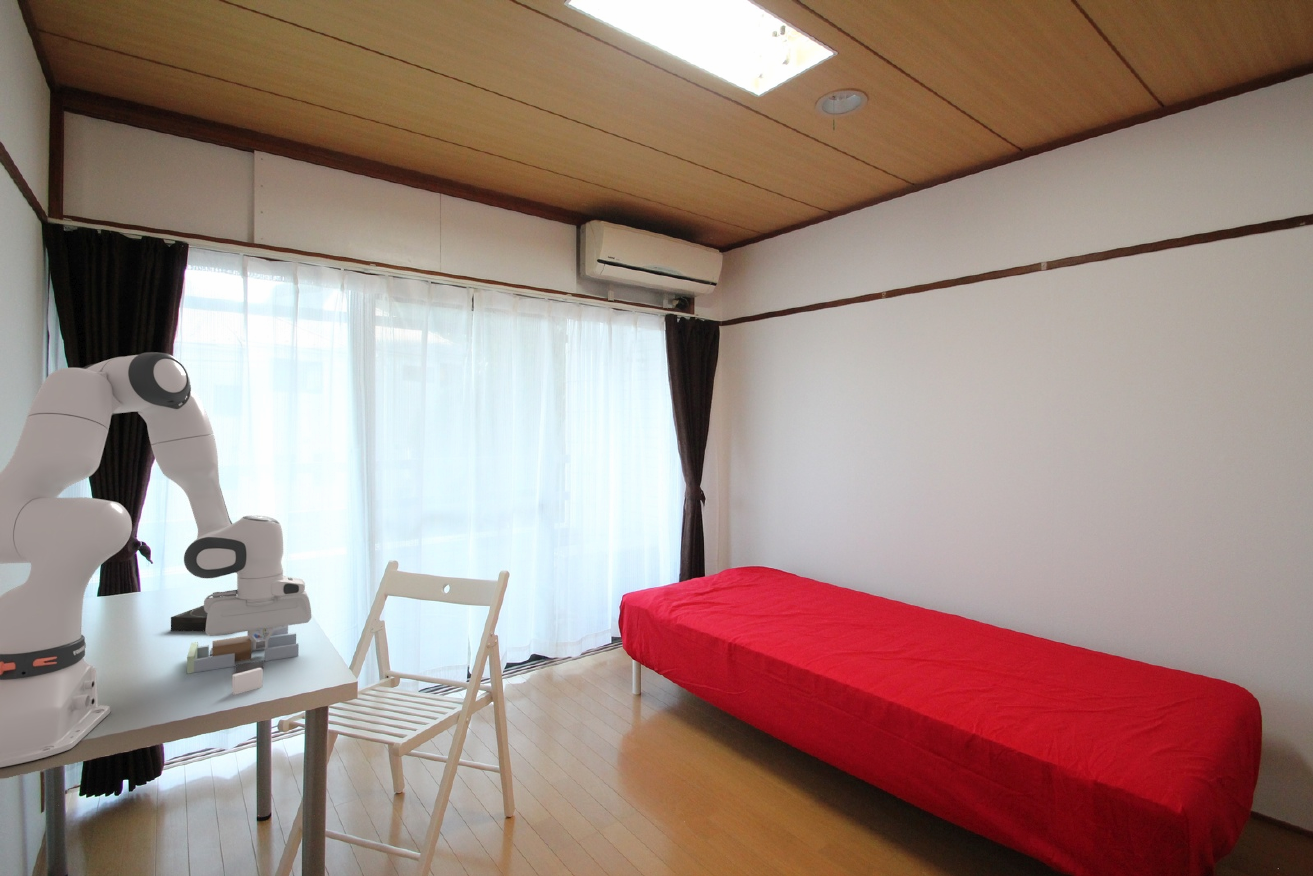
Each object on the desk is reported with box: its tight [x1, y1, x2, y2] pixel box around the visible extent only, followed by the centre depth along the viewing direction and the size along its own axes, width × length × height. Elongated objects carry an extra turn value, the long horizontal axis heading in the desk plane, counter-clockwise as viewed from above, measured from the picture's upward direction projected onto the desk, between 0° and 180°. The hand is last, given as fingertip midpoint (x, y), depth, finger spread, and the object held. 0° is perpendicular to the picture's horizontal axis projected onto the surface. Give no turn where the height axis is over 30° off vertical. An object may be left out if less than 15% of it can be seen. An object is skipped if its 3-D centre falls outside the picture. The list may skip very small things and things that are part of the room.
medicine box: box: [254, 625, 289, 638], centre depth 151 cm, size 8×4×9 cm, turn 62°
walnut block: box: [211, 635, 252, 663], centre depth 138 cm, size 5×7×4 cm
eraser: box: [231, 668, 264, 695], centre depth 122 cm, size 1×5×4 cm, turn 142°
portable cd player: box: [170, 604, 208, 633], centre depth 166 cm, size 16×17×4 cm
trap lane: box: [186, 632, 299, 675], centre depth 139 cm, size 20×20×4 cm
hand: (260, 648), depth 141 cm, fingers closed
